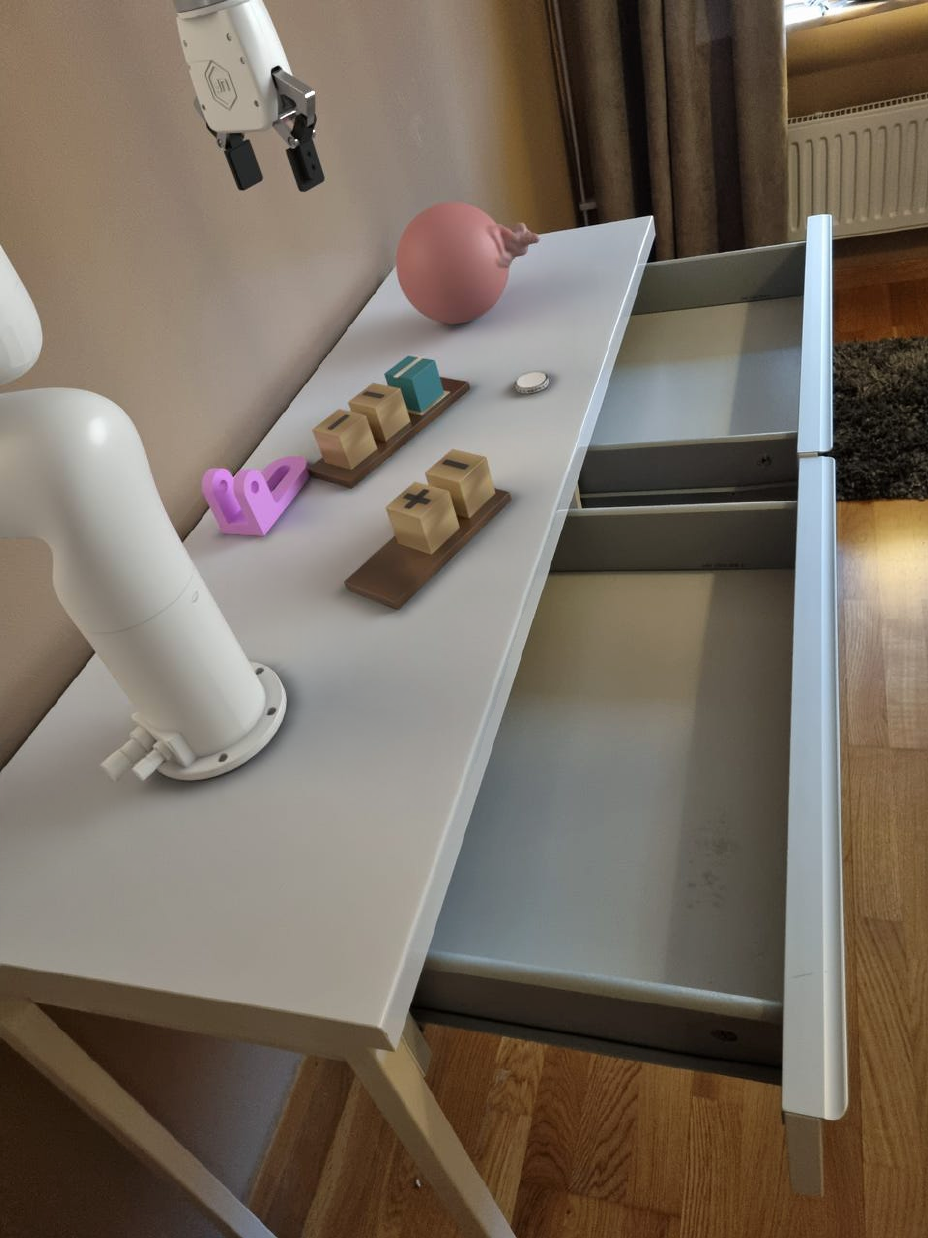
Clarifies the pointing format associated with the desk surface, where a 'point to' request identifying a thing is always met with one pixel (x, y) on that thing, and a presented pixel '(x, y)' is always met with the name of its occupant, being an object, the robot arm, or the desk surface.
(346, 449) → the far word
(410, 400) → the striped teal cube
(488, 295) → the balloon
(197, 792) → the desk surface
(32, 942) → the desk surface
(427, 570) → the wooden board with cubes
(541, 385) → the white flat disc
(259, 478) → the bracket
